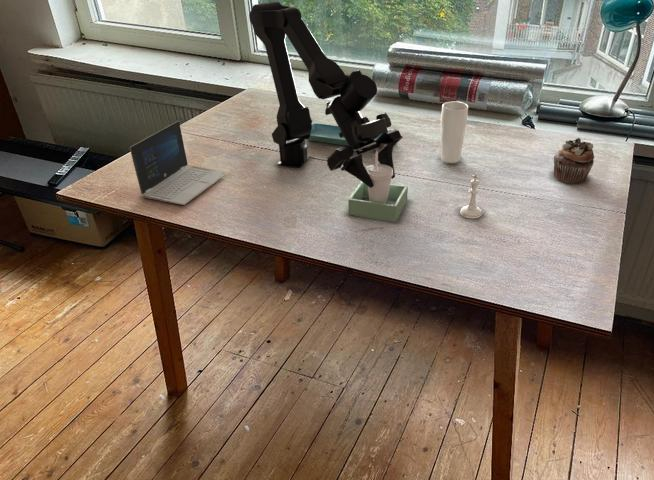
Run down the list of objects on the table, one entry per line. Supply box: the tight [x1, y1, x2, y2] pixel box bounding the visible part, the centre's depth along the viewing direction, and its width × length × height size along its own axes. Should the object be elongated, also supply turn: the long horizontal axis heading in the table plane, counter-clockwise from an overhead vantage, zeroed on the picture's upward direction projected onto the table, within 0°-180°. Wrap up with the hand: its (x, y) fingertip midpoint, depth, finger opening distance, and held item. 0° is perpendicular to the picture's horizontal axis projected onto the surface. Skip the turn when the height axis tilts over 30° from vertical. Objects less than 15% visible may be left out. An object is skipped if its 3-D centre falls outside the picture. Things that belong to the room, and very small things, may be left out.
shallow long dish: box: [306, 122, 383, 148], centre depth 164 cm, size 26×9×2 cm, turn 72°
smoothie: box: [365, 150, 393, 204], centre depth 129 cm, size 6×6×14 cm
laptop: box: [129, 120, 228, 206], centre depth 138 cm, size 18×12×13 cm
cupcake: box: [553, 137, 595, 185], centre depth 142 cm, size 10×10×10 cm
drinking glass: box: [440, 100, 469, 164], centre depth 149 cm, size 7×7×15 cm
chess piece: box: [459, 172, 483, 219], centre depth 128 cm, size 5×5×10 cm
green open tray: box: [347, 181, 409, 223], centre depth 132 cm, size 11×10×4 cm
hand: (383, 182), depth 128 cm, fingers closed on smoothie, 6 cm apart
